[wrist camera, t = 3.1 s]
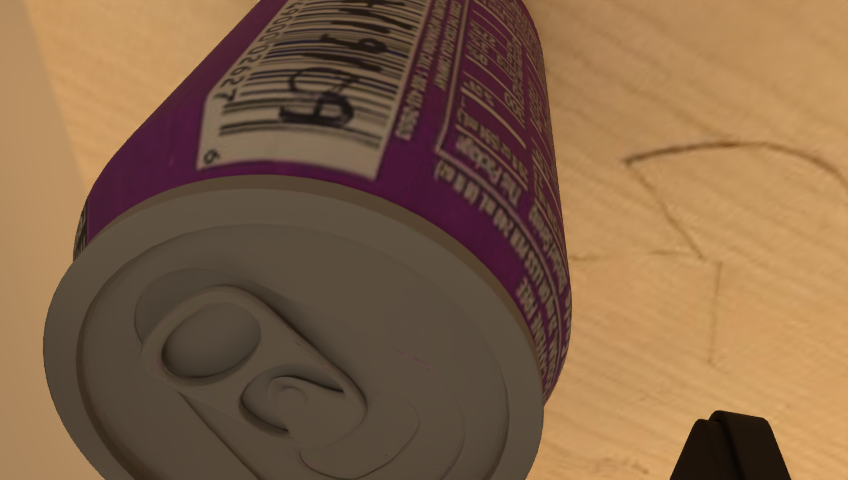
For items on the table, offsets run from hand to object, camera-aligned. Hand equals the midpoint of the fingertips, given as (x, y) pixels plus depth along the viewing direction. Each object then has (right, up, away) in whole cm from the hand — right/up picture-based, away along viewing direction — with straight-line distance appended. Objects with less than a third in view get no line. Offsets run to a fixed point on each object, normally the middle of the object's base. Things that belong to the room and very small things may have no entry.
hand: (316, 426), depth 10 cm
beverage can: (+1, +7, +10) cm, 12 cm away
